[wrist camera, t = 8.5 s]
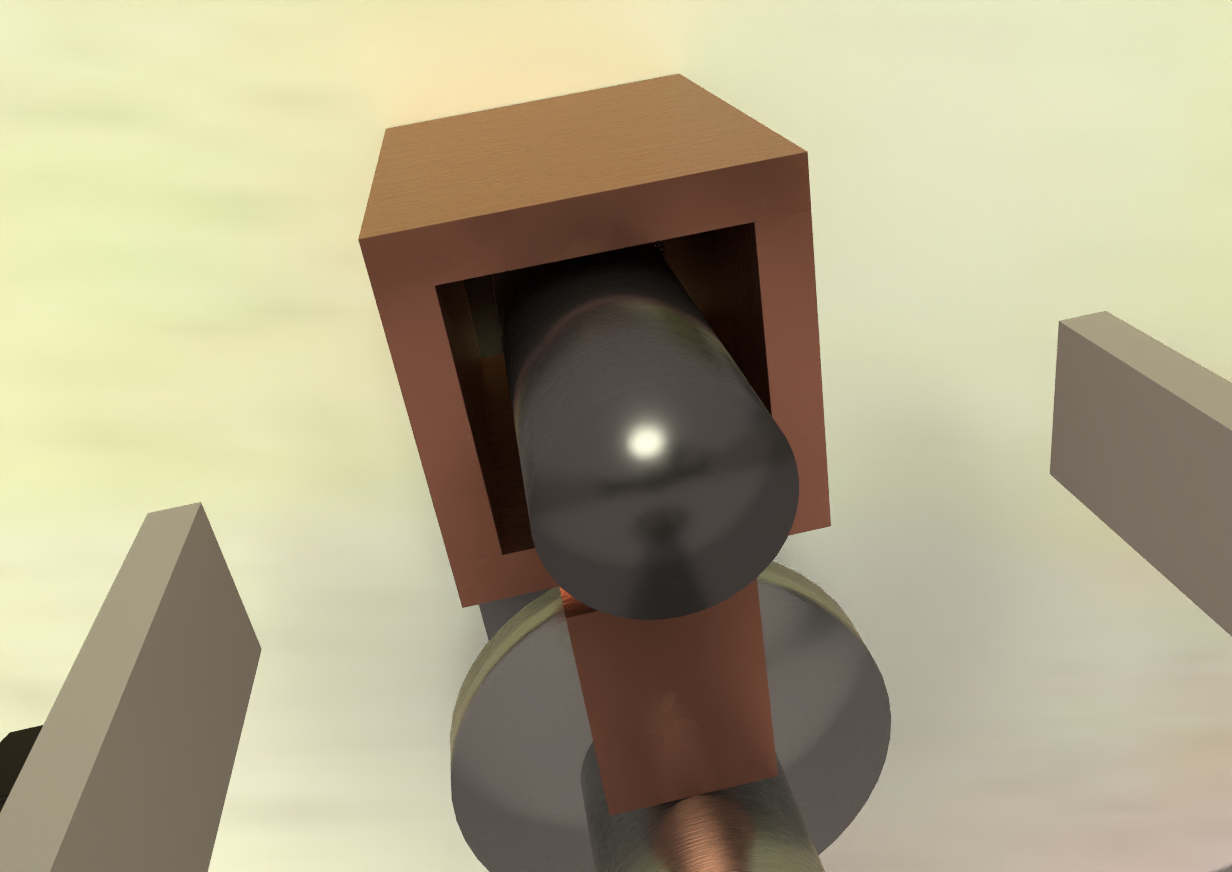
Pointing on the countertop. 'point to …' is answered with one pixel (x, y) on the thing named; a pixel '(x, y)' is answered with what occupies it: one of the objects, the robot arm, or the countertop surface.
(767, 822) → the post with bracket
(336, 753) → the countertop surface
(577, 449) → the dark grey cylinder
